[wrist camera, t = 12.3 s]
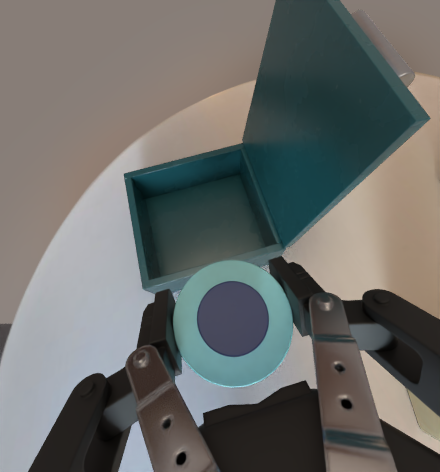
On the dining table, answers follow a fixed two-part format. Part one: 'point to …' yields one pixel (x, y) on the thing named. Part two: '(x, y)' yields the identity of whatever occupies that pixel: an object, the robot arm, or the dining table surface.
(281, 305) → the water bottle
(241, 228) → the teal open box
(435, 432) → the toy refrigerator
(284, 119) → the teal box lid
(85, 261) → the dining table surface
